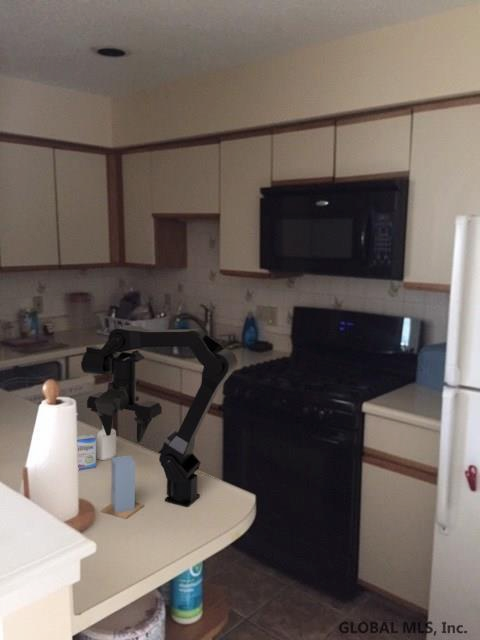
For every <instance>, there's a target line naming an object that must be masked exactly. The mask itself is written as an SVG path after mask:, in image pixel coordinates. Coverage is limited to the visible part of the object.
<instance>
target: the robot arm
mask: <svg viewBox="0 0 480 640" xmlns="http://www.w3.org/2000/svg"><path fill="white" fill-rule="evenodd" d="M152 347H153V348H154V347H155V348H158V347H159V348H160V347H161V348H163V347H164V348H168V347H169V348H171V347H173V348H174V347H175V348H177V347H179V348H180V347H181V348H187V347H188V348H189V349H190V350H191V351H192V353H193V355H194V356H195V358H196V359H197V361H198V362H199V363H200V364H201V365H202V366H203V368H202V372H201V382H200V386H199V388H198V390H197V392H196V394H195V397H194V398H193V400H192V402H191V404H190V406H189V409H188V411H187V412H186V415H185V417H184V419H183V421H182V423H181V426H180V427H179V430H178V431H173V432H172V433H171V434H170V435H169V436H167V437H166V438H165V440H164V442H163V445H162V448H161V449H160V450H159V451H158V453H159V454H160V455H159V458H158V459H159V460H158V461H159V463H160V466H161V468H163V471H164V473H165V477H166V495H167V497H165V498H164V502H168V503H170V504H175V505H179V506H183V507H189V506H190V505H192V504H193V503H195V501H197V500H198V499H199V498H200V497H201V494H200V493H198V474H196V472H197V471H198V470H199V468H200V466H201V461H200V460H199V459H198V458H197V456H196V455H195V454H194V453H193V452H194V449H195V444H196V443H195V440H196V436H197V434H198V431H199V430H200V428H201V425H202V423H203V422H204V419H205V417H206V415H207V413H208V411H209V409H210V407H211V405H212V403H213V401H214V399H215V398H216V395H217V393H218V391H219V389H220V388H221V387H222V386H223V384H224V383H225V382H226V381H227V380H228V379H229V377H230V376H231V374H232V373H234V371H235V369H236V368H237V366H238V359H237V356H236V354H235V353H234V352H233V351H232V350H230V349H226V348H225V347H224V346H223V345H222V343H220V342H219V341H217V340H216V339H214V338H212V337H211V336H210V335H208V333H206V331H205V330H204V329H201V328H198V327H197V328H196V327H195V328H193V329H189V328H187V329H148V328H145V327H142V326H139V325H137V326H136V325H132V324H128V325H123V326H120V327H117V328H114V329H112V330H111V331H110V332H109V334H108V337H107V341H106V343H105V344H104V345H103V347H99V346H95V345H90V346H86V349H85V353H84V354H83V356H82V358H81V362H80V366H81V367H80V368H81V370H82V373H85V374H90V375H100V376H109V375H110V373H111V381H110V382H108V383H107V390H106V391H102V392H101V391H100V392H96V393H94V394H91V395H89V396H88V398H87V399H86V408H87V409H90V411H91V412H93V413H95V414H96V415H97V416H98V417H99V419H100V422H101V424H102V425H103V427H104V430H105V433H106V435H107V436H109V435H110V434H111V429H113V427H112V426H113V420H114V419H113V418H114V415H116V414H117V412H118V411H124V410H127V411H133V412H134V415H135V416H136V417H135V418H133V419H134V421H135V422H136V442H137V443H141V442H142V440H143V437H144V436H145V433H146V431H147V428H148V427H149V425H150V424H151V422H152V420H153V419H154V418H156V417H157V416H159V415H161V414H163V413H162V408H163V407H162V405H161V403H160V402H158V401H153V400H146V401H143V402H141V403H137V402H138V401H139V397H140V396H139V395H136V394H137V393H136V389H137V388H136V387H137V386H138V385H140V380H139V379H137V377H136V376H137V373H136V372H137V363H138V362H141V361H143V360H145V356H144V355H143V354H142V353H141V352H140V351H139V350H138V349H142V348H152ZM129 351H132V352H129ZM115 353H119V354H115ZM102 425H101V426H102Z"/></svg>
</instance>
